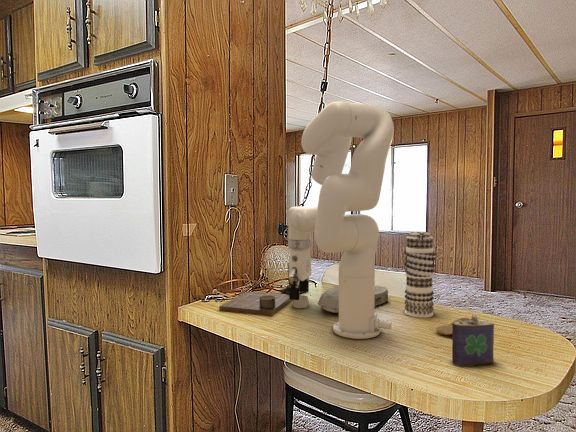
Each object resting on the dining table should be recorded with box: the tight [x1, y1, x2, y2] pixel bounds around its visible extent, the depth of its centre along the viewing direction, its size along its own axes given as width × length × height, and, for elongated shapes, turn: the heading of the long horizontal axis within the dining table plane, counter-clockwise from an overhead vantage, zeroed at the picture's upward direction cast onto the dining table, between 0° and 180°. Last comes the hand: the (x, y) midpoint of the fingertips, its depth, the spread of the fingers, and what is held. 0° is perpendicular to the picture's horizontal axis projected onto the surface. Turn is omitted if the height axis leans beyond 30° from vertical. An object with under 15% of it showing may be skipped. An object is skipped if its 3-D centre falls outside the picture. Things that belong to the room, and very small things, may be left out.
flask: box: [451, 314, 495, 367], centre depth 90 cm, size 9×3×11 cm, turn 95°
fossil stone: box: [317, 285, 389, 314], centre depth 136 cm, size 28×15×5 cm, turn 131°
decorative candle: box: [403, 231, 437, 319], centre depth 126 cm, size 9×9×25 cm
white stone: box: [292, 294, 309, 309], centre depth 136 cm, size 5×5×3 cm
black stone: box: [259, 295, 275, 309], centre depth 130 cm, size 5×5×3 cm
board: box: [218, 291, 293, 317], centre depth 138 cm, size 18×20×2 cm
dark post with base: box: [279, 262, 303, 295], centre depth 154 cm, size 9×8×12 cm
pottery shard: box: [435, 317, 471, 336], centre depth 109 cm, size 11×4×10 cm
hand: (299, 295), depth 136 cm, fingers open, 9 cm apart
